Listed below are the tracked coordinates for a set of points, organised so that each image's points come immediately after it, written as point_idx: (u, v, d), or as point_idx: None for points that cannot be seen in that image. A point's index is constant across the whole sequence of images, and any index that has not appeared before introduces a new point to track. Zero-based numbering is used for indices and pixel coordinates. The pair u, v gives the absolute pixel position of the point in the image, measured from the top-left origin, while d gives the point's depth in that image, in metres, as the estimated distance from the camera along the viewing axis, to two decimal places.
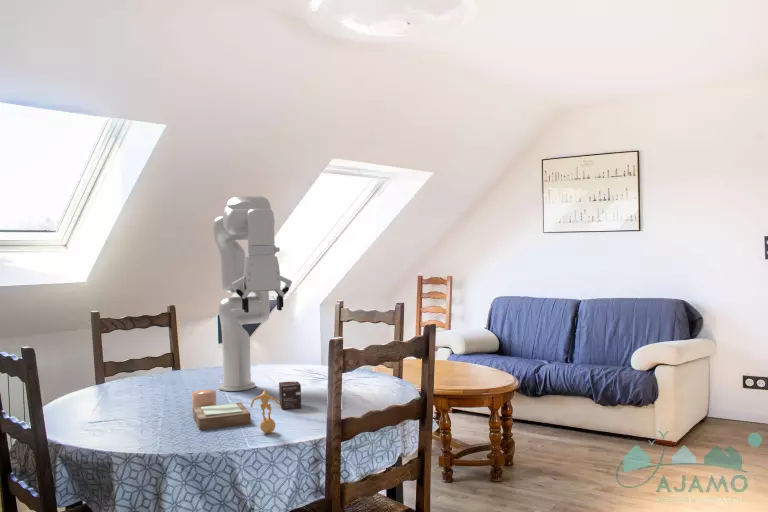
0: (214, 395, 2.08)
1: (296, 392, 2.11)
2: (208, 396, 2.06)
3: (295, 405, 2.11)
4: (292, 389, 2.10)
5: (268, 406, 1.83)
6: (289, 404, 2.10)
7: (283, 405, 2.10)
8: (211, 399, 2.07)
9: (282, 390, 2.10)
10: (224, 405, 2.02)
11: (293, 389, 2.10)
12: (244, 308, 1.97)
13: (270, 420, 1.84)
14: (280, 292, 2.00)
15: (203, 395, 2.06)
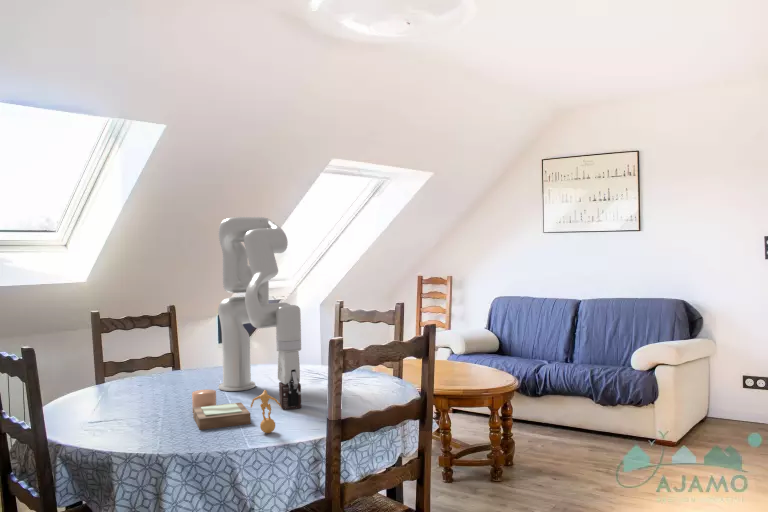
0: (214, 395, 2.08)
1: None
2: (208, 396, 2.06)
3: None
4: None
5: (268, 406, 1.83)
6: None
7: (283, 405, 2.10)
8: (211, 399, 2.07)
9: (282, 390, 2.10)
10: (224, 405, 2.02)
11: None
12: None
13: (270, 420, 1.84)
14: None
15: (203, 395, 2.06)
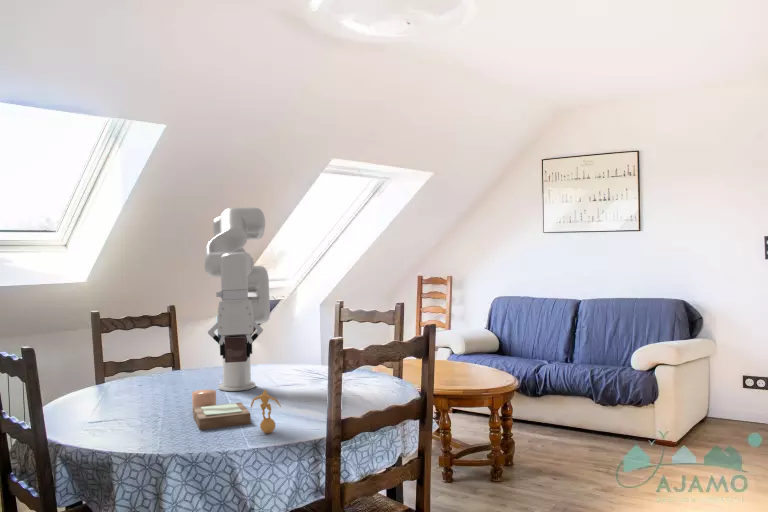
0: (214, 395, 2.08)
1: None
2: (208, 396, 2.06)
3: None
4: (246, 339, 2.02)
5: (268, 406, 1.83)
6: (246, 355, 2.01)
7: (246, 357, 1.99)
8: (211, 399, 2.07)
9: (245, 341, 1.99)
10: (224, 405, 2.02)
11: (246, 339, 2.02)
12: None
13: (270, 420, 1.84)
14: None
15: (203, 395, 2.06)
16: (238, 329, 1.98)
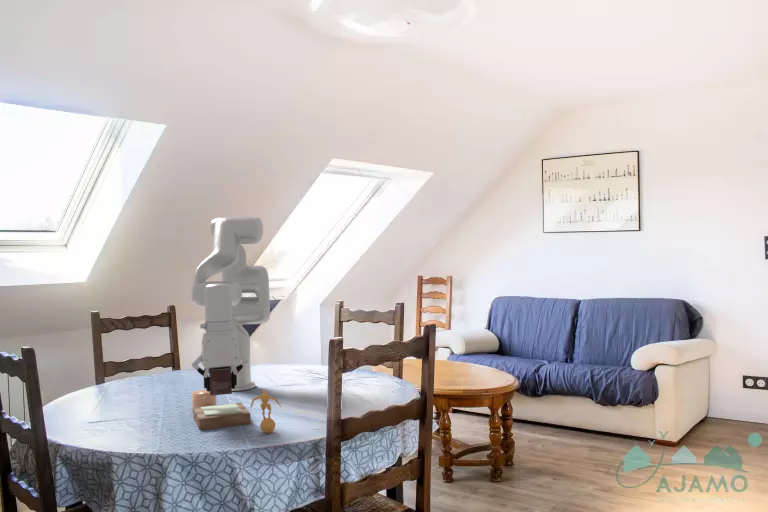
0: (214, 395, 2.08)
1: None
2: (208, 396, 2.06)
3: None
4: None
5: (268, 406, 1.83)
6: None
7: (231, 389, 1.97)
8: (211, 399, 2.07)
9: (230, 373, 1.96)
10: (224, 405, 2.02)
11: None
12: None
13: (270, 420, 1.84)
14: None
15: (203, 395, 2.06)
16: (224, 361, 1.96)
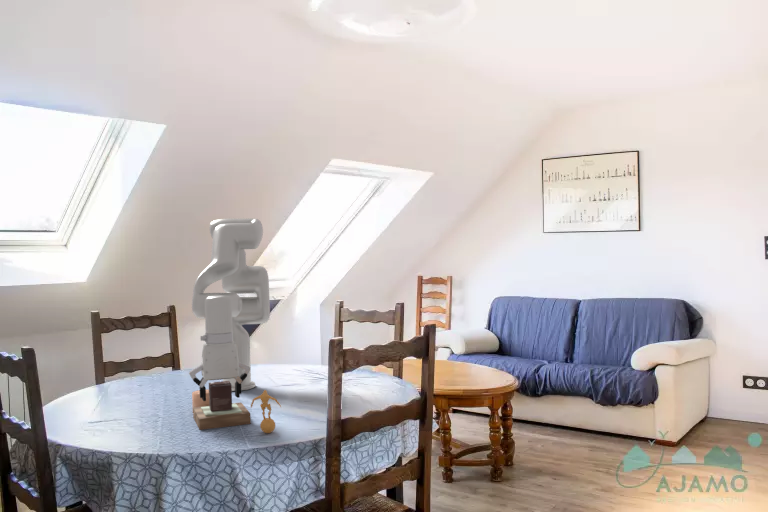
0: None
1: None
2: (208, 396, 2.06)
3: None
4: None
5: (268, 406, 1.83)
6: None
7: None
8: None
9: (231, 389, 1.97)
10: None
11: None
12: None
13: (270, 420, 1.84)
14: None
15: None
16: (224, 373, 1.96)
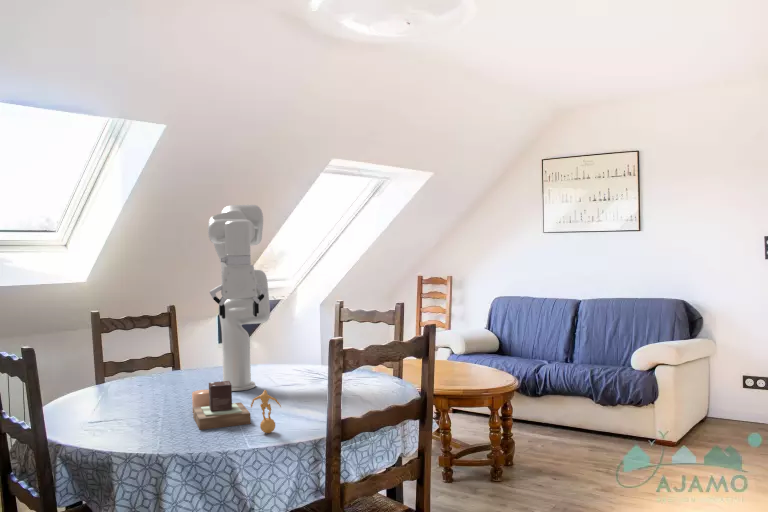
0: None
1: None
2: (208, 396, 2.06)
3: None
4: None
5: (268, 406, 1.83)
6: None
7: None
8: None
9: (231, 389, 1.97)
10: None
11: None
12: None
13: (270, 420, 1.84)
14: None
15: (203, 395, 2.06)
16: (242, 293, 2.09)
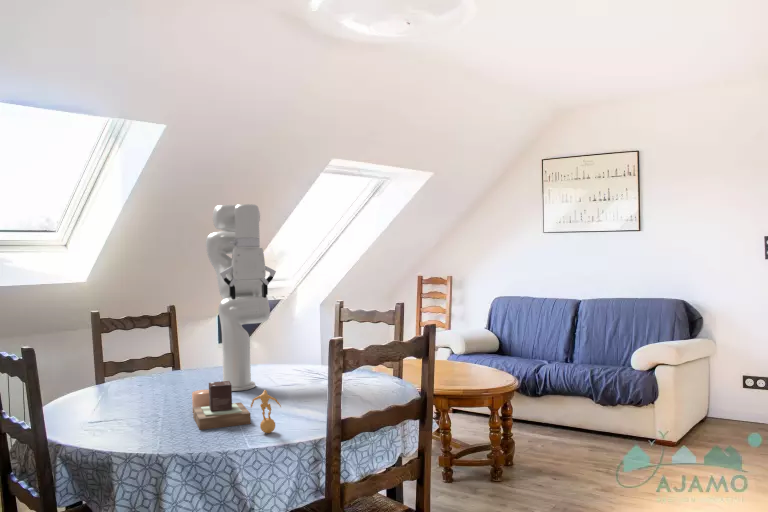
0: None
1: None
2: (208, 396, 2.06)
3: None
4: None
5: (268, 406, 1.83)
6: None
7: None
8: None
9: (231, 389, 1.97)
10: None
11: None
12: None
13: (270, 420, 1.84)
14: None
15: (203, 395, 2.06)
16: (252, 274, 2.15)
